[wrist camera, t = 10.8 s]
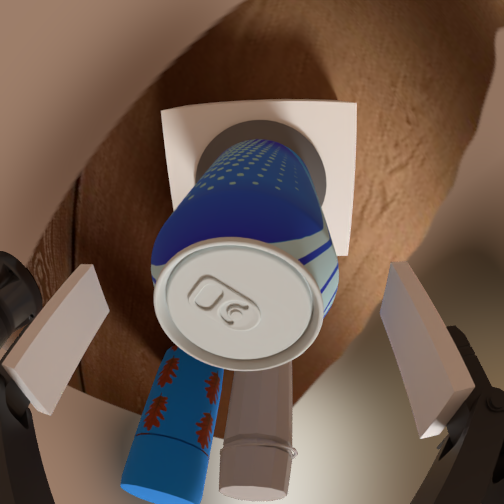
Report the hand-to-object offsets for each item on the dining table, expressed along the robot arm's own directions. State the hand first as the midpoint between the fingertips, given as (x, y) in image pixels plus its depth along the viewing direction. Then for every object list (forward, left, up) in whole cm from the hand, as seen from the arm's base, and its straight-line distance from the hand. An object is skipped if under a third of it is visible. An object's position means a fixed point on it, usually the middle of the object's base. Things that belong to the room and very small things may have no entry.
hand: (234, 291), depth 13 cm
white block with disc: (0, 0, -23) cm, 23 cm away
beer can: (0, 0, -15) cm, 15 cm away
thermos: (-13, -33, -23) cm, 42 cm away
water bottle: (0, -24, -23) cm, 33 cm away
